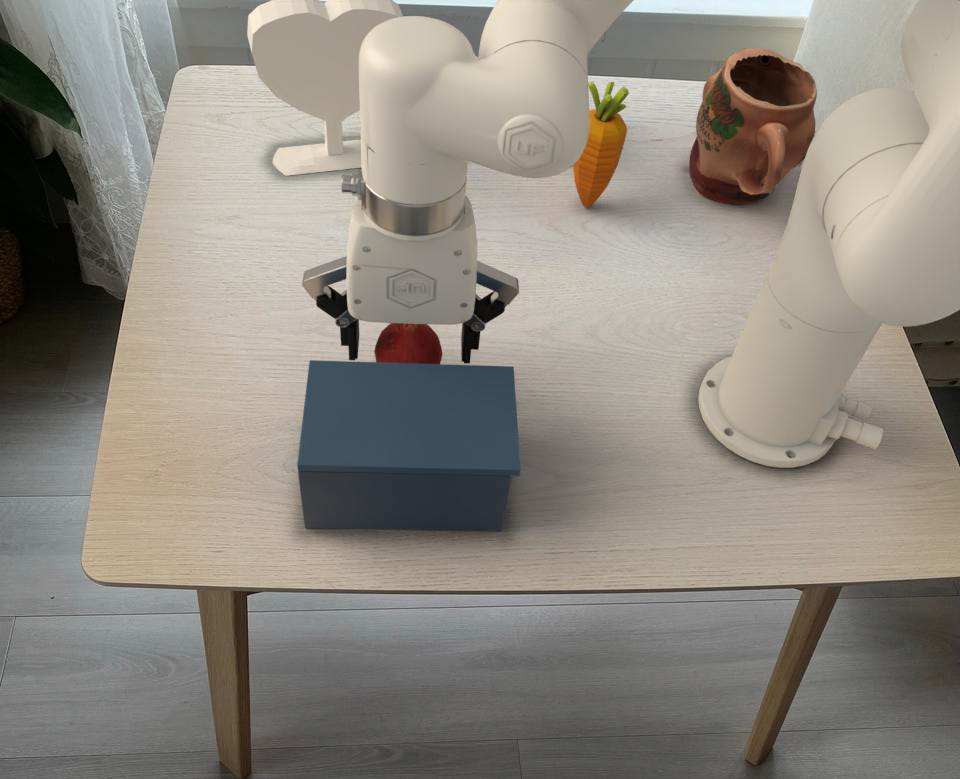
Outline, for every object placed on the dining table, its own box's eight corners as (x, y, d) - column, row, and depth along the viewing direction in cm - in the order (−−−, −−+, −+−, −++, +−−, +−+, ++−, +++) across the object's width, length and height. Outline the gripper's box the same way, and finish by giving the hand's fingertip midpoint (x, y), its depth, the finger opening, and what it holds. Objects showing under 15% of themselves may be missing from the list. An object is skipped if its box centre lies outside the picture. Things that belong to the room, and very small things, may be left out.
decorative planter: (811, 249, 101) (861, 140, 91) (701, 249, 100) (739, 138, 89) (760, 136, 114) (799, 29, 103) (661, 135, 113) (690, 26, 102)
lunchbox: (496, 431, 83) (505, 372, 77) (501, 531, 76) (511, 476, 70) (315, 426, 81) (310, 366, 75) (304, 528, 75) (297, 471, 69)
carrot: (554, 201, 103) (575, 79, 92) (588, 186, 105) (613, 65, 94) (583, 227, 101) (609, 104, 89) (618, 211, 103) (647, 89, 91)
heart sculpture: (398, 135, 109) (399, -17, 95) (407, 162, 106) (411, 9, 92) (260, 149, 105) (241, -7, 91) (266, 177, 102) (248, 21, 88)
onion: (380, 409, 83) (380, 347, 77) (370, 360, 87) (369, 297, 80) (445, 401, 84) (450, 340, 78) (433, 353, 88) (437, 291, 82)
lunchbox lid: (512, 372, 77) (513, 366, 76) (519, 476, 70) (520, 470, 70) (310, 366, 75) (309, 359, 75) (297, 471, 69) (297, 465, 68)
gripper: (288, 221, 66) (305, 380, 79) (535, 231, 67) (511, 385, 80) (298, 155, 71) (313, 315, 84) (528, 165, 72) (507, 321, 85)
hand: (410, 349), depth 82 cm, fingers open, 9 cm apart
